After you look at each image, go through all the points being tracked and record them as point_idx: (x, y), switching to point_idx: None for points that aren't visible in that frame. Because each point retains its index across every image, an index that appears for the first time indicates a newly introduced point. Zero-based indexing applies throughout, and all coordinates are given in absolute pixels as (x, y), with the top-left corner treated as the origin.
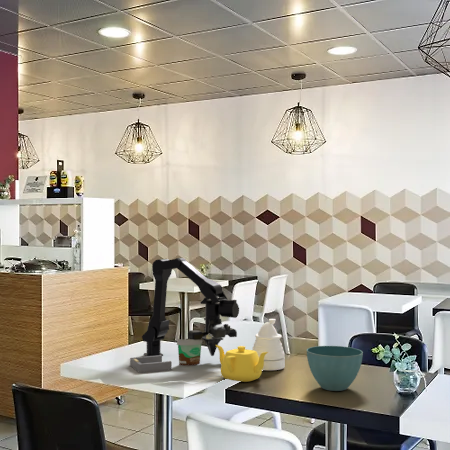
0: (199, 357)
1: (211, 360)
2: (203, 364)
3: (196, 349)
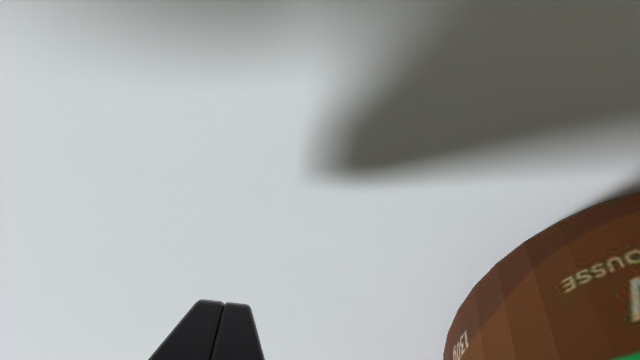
0: (599, 319)
1: None
2: (523, 144)
3: None
